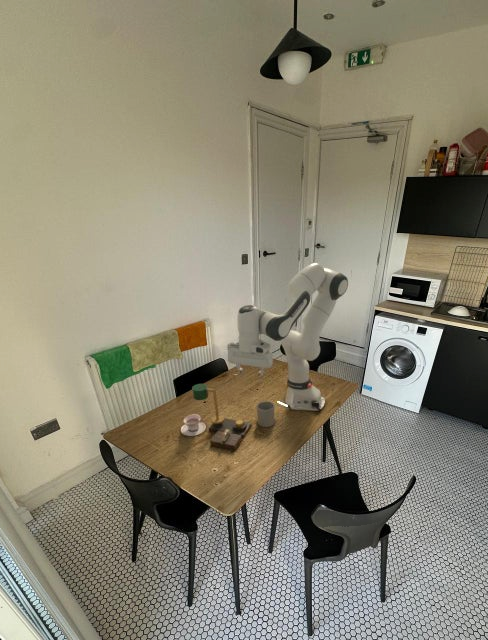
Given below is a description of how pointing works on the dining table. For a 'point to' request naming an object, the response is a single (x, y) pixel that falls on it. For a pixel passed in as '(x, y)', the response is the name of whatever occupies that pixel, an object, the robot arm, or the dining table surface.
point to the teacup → (192, 425)
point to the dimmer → (229, 444)
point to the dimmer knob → (225, 435)
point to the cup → (265, 414)
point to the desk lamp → (202, 393)
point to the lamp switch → (239, 423)
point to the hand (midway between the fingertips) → (250, 373)
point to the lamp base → (231, 427)
